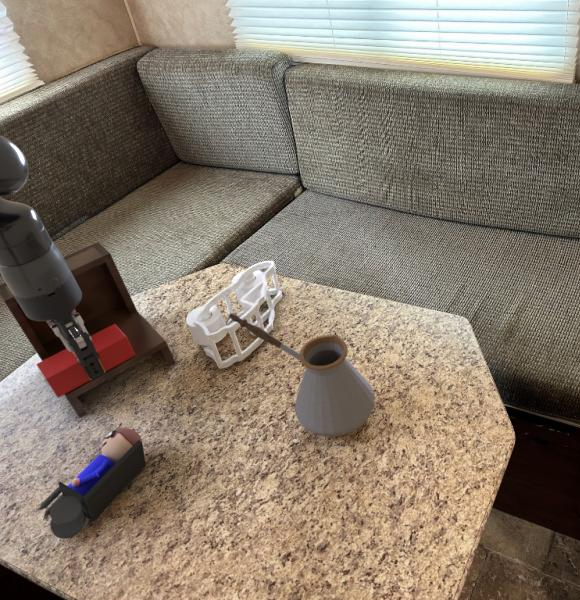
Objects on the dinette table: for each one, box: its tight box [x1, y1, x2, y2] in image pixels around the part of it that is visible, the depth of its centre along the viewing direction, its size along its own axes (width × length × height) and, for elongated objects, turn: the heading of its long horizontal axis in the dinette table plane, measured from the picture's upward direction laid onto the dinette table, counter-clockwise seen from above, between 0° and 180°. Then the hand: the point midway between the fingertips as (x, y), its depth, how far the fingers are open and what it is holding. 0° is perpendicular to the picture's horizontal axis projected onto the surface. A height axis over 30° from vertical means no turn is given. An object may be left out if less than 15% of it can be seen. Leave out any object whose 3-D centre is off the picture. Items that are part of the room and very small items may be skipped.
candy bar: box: [36, 324, 135, 399], centre depth 92 cm, size 12×5×4 cm, turn 133°
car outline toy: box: [185, 260, 283, 370], centre depth 103 cm, size 20×11×7 cm, turn 150°
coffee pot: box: [225, 311, 376, 438], centre depth 85 cm, size 21×12×15 cm, turn 64°
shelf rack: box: [0, 241, 176, 419], centre depth 95 cm, size 16×16×17 cm
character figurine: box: [39, 427, 147, 540], centre depth 78 cm, size 8×7×15 cm
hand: (91, 366), depth 93 cm, fingers closed on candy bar, 4 cm apart
